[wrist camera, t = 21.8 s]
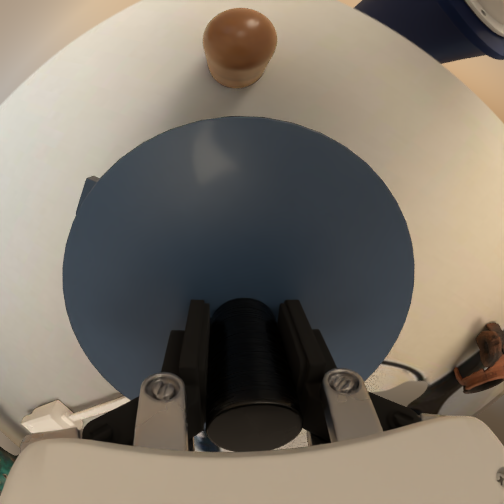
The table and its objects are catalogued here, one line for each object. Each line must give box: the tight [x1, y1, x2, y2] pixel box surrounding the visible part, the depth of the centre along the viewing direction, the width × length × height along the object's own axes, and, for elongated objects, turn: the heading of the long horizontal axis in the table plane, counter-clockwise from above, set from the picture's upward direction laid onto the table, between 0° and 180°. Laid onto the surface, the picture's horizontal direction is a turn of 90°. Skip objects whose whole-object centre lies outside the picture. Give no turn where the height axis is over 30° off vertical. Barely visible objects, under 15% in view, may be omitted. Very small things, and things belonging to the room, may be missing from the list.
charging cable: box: [21, 396, 131, 433], centre depth 26 cm, size 5×32×3 cm, turn 118°
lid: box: [63, 116, 414, 452], centre depth 10 cm, size 17×17×7 cm
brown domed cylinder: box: [203, 8, 277, 88], centre depth 14 cm, size 4×4×7 cm
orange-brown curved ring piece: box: [454, 323, 504, 394], centre depth 28 cm, size 12×10×8 cm
